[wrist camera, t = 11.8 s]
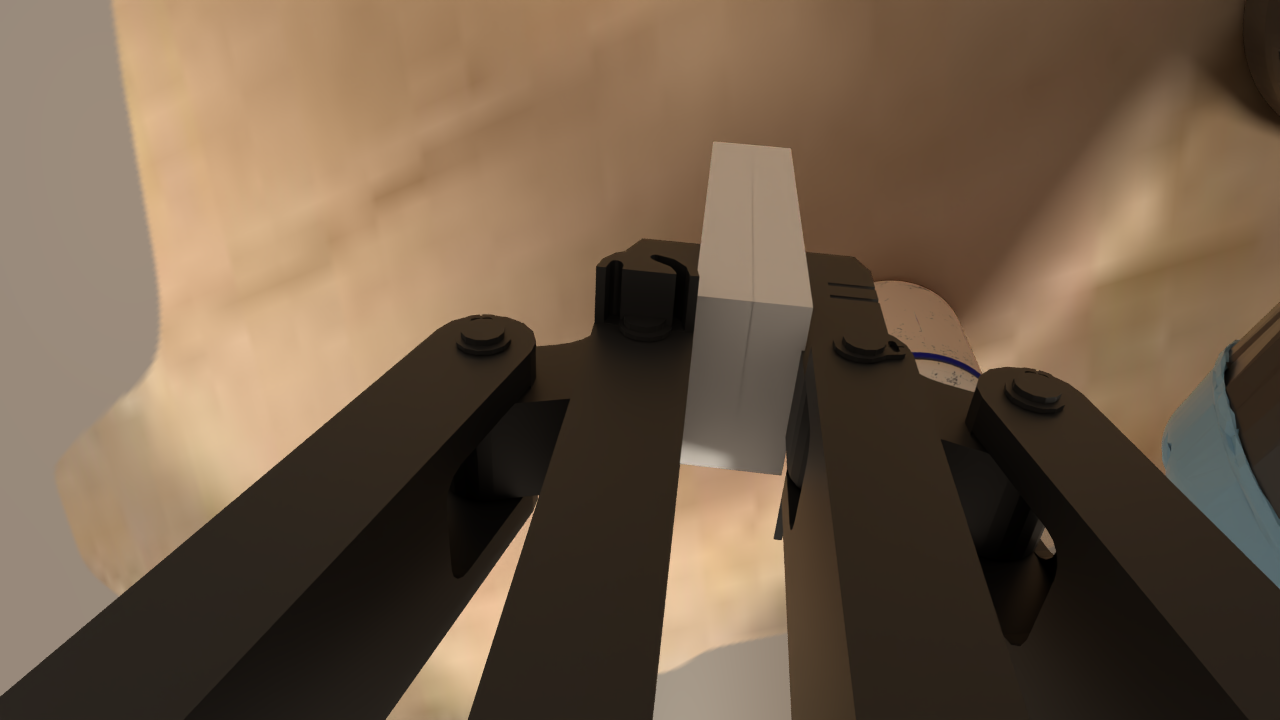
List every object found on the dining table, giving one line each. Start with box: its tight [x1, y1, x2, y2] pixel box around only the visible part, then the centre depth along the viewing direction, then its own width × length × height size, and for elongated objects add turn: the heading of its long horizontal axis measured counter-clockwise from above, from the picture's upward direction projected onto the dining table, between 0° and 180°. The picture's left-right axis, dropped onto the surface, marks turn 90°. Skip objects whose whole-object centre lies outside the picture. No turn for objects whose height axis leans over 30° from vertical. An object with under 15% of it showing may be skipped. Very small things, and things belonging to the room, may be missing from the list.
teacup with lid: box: [874, 281, 982, 392], centre depth 43 cm, size 12×9×12 cm
